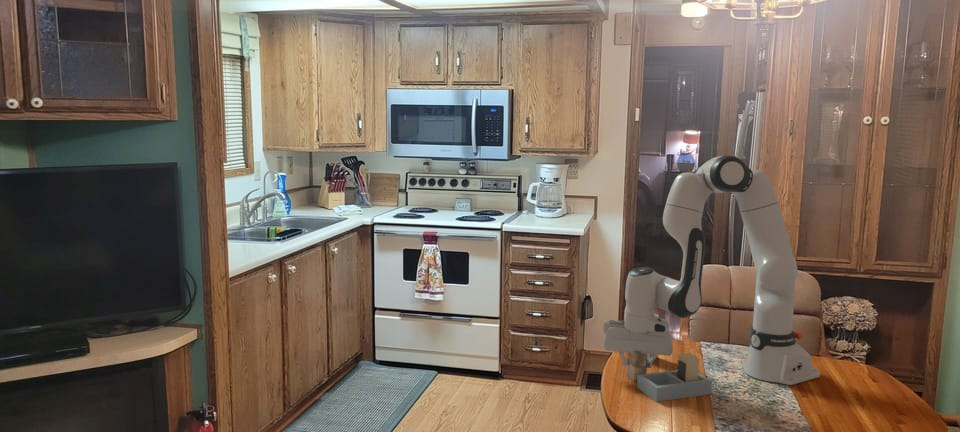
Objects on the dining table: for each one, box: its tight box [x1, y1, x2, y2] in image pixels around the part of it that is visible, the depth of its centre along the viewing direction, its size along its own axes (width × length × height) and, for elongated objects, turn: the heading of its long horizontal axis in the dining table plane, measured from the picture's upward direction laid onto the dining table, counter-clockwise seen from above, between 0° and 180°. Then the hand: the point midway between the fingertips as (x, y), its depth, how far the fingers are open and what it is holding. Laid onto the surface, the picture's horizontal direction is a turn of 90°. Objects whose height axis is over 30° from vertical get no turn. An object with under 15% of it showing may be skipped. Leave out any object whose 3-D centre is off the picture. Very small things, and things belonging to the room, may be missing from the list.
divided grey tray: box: [636, 352, 713, 403], centre depth 195 cm, size 18×10×10 cm, turn 108°
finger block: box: [626, 351, 648, 382], centre depth 205 cm, size 4×4×9 cm
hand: (637, 366), depth 205 cm, fingers closed on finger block, 6 cm apart
